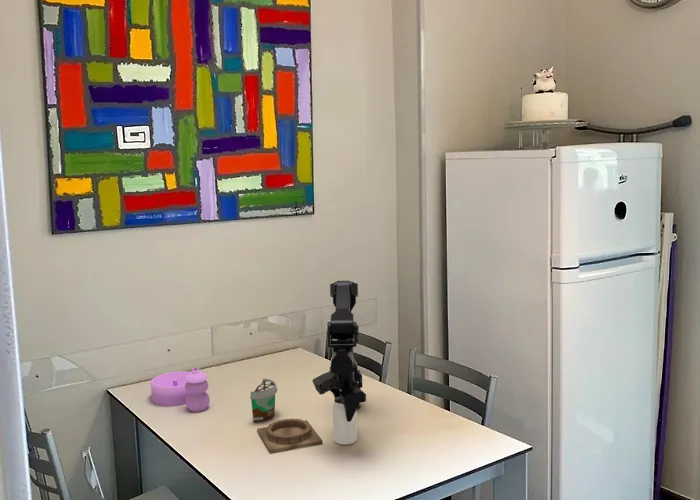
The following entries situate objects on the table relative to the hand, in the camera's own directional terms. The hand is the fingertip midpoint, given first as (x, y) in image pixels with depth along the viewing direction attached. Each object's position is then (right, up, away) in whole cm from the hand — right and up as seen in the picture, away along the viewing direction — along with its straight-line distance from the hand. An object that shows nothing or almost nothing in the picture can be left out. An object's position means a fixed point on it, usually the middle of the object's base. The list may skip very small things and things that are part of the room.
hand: (344, 416), depth 196 cm
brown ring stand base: (-16, -7, +4) cm, 18 cm away
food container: (-23, -5, +19) cm, 31 cm away
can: (0, -7, +1) cm, 7 cm away
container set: (-52, -3, +33) cm, 62 cm away
